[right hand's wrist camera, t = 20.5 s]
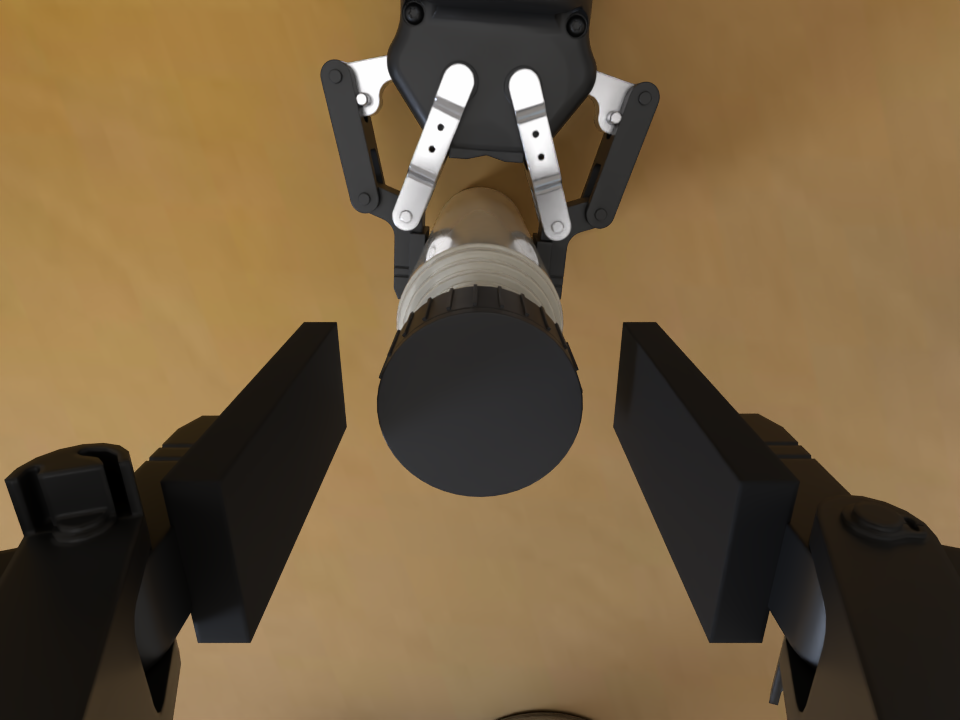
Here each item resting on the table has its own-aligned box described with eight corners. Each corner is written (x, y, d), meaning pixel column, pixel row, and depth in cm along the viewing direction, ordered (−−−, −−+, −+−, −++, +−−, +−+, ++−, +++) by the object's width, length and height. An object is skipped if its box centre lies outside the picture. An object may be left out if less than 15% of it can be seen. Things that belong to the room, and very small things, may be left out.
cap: (350, 373, 14) (330, 412, 12) (477, 242, 13) (477, 262, 11) (481, 481, 15) (481, 533, 13) (609, 369, 14) (629, 408, 12)
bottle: (472, 292, 34) (462, 526, 14) (417, 225, 33) (319, 378, 13) (541, 240, 33) (636, 413, 13) (487, 167, 32) (501, 237, 12)
